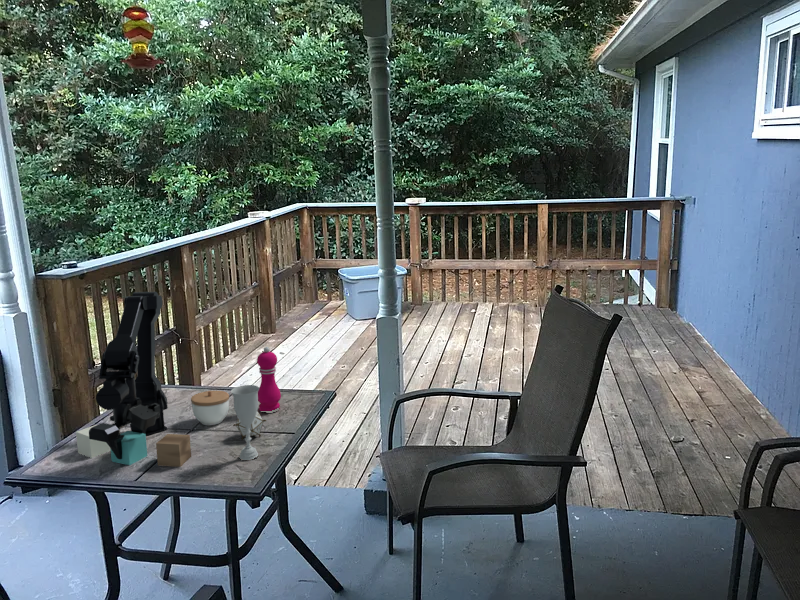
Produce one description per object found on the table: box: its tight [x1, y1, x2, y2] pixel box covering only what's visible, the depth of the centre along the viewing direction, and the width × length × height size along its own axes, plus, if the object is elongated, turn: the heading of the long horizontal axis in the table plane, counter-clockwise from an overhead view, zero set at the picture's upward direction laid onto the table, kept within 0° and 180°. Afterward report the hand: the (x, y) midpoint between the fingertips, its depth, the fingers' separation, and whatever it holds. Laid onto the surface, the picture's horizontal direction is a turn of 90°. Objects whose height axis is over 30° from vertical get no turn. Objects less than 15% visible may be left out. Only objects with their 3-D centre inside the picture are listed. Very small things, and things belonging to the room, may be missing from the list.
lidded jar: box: [190, 389, 230, 426], centre depth 192 cm, size 11×11×9 cm
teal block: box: [110, 430, 148, 466], centre depth 168 cm, size 6×6×6 cm
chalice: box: [230, 384, 260, 460], centre depth 167 cm, size 7×7×18 cm
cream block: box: [75, 424, 111, 459], centre depth 172 cm, size 6×6×6 cm
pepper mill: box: [256, 346, 282, 412], centre depth 200 cm, size 7×7×20 cm
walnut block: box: [155, 433, 192, 468], centre depth 166 cm, size 6×6×6 cm
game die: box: [232, 410, 267, 440], centre depth 181 cm, size 9×8×10 cm
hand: (129, 454), depth 168 cm, fingers closed on teal block, 6 cm apart
